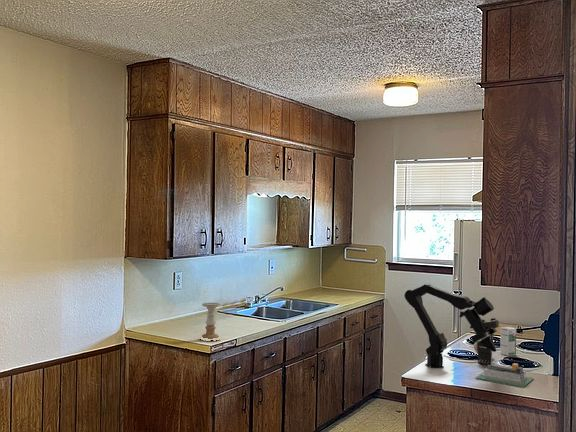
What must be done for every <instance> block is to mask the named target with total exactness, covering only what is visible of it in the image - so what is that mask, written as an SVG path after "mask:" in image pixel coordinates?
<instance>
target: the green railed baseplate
mask: <svg viewBox="0 0 576 432" xmlns="http://www.w3.org/2000/svg"><path fill="white" fill-rule="evenodd" d="M492 364H495V365H496V363H495V362H492V363H491V365H486V366H487V367H485V368H484V369H483V372H482V373H481V374H479V375H477V376H476V377H475V379H476V380H480V381H485V382H492V383H498V384H502V385H507V386H512V387H519V388H525V387H526V386H527V385H528V384H530V383H531V382H532V381H533V380H534V379H535V378H534V377H530V376H528V375H527V371H526V370H524V367H522V366H518V368H517V371H516V372H513V371H508V370H502V369H497V368H492Z"/></svg>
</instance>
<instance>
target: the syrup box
mask: <svg viewBox="0 0 576 432" xmlns="http://www.w3.org/2000/svg"><path fill="white" fill-rule="evenodd" d="M499 340H500V344H499V345H500V351H499V353H500V355H503V356H506V357H510V356H516V355H517V328H516V327H512V326H506V327H505V326H503V327H500V339H499Z"/></svg>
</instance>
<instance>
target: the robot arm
mask: <svg viewBox="0 0 576 432" xmlns="http://www.w3.org/2000/svg"><path fill="white" fill-rule="evenodd" d="M426 294H429V295H431V296H434V297H436V298H439V299H440V300H443V301H446V302H447V303H449V304H450V305H452V306H453V307H455V308H457V309H458V310H461V311H460V312H459V318H460V319H461V318H463V317H464V318H465V319H466V321H467V323H468V324H469V325H470V326H469V328H470V329H472V330H473V331H474V333H475V334H473V335H472V336H471V341H472V343H473V344H475V342H477V341H478V340H481V341H479V343H481V344H483V345H484V346H486V347H487V348H489V349H490V350H492V353H495V352H497V350H498V349H497V348H496V346H495V342H494V340H493V339H494V335H495V333H497V332H498V330H497V328H499V327H500V325H499V324H500V321H499V320H498V319H497V318H496V317H492V318H490V320H489V321H488V320H487V321H486V320H485V319H482V318H481V316H483V317H484V316H486V315H487V314H489V313H491V312H492V311H494V309H495V308H494V306H493V304H492V302H490V301H489V300H488V299H487V297H482V298H480V299H479V300H478V301H473V300H471V299H470V297H468V296H466V295H462V294H454V293H451V292H449V291H446V290H444V289H441V288H439V287H437V286H433V285H432V284H430V283H426V284H423V285H421V286H419V287H417V288H414V289H413V288H412V289H408V290H406V291H405V293H404V298H405V300H406V302H407V303H408V305H409V306H410V307H412V308H413V309H414V312H416V314H417V317H418V318H419V321H421V324H422V326H423V327H424V330H425V332H426V334H427V336H428V343H429V346H428V347H427V348H426V349H425V351H426V354H427V355H426V356H427V359H426V363H424V365H425V366H427V367H430V368H432V369H437V368H439V369H443V368H444V367H445V366H444V356H443V353H444V350H446V349H447V347H448V339H447V338H446V336H445V334H444V332H441V333H440V332H439V331H438V330H437V328H436V326H435V325H434V323H433V321H432V319H431V317H430V315H429V314H428V312H427V310H426V308H425V306H424V303H423V296H425V295H426ZM470 308H471V309H470ZM463 310H464V311H463Z"/></svg>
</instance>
